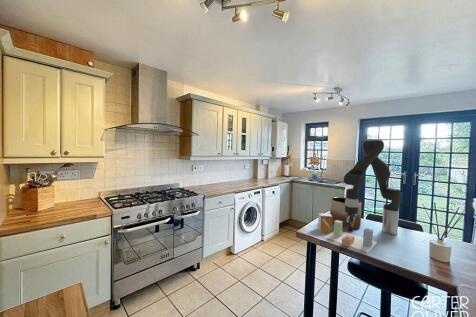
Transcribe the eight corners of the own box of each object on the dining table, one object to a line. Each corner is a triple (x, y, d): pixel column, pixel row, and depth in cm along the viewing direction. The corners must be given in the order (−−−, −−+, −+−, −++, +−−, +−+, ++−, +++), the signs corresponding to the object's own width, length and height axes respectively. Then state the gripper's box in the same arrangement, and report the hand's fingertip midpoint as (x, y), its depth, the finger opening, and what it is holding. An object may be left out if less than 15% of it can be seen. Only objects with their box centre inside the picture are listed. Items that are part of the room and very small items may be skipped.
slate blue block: (364, 243, 130) (365, 227, 129) (372, 245, 127) (373, 229, 126) (362, 244, 127) (363, 229, 126) (370, 247, 124) (371, 231, 124)
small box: (320, 233, 146) (321, 215, 145) (317, 229, 152) (318, 212, 152) (331, 234, 145) (332, 216, 145) (328, 230, 152) (329, 213, 151)
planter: (367, 228, 157) (368, 203, 156) (343, 231, 151) (345, 204, 150) (345, 218, 178) (346, 196, 177) (324, 220, 173) (325, 197, 172)
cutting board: (336, 231, 151) (336, 229, 150) (377, 243, 132) (377, 242, 131) (324, 238, 137) (324, 237, 137) (368, 254, 118) (368, 252, 118)
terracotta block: (347, 234, 133) (342, 238, 127) (354, 236, 130) (348, 240, 124) (347, 239, 134) (341, 244, 127) (354, 242, 131) (348, 247, 124)
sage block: (335, 233, 143) (336, 220, 142) (341, 235, 140) (342, 221, 139) (333, 235, 140) (334, 221, 140) (339, 237, 137) (340, 222, 137)
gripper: (349, 202, 137) (347, 227, 138) (341, 205, 128) (340, 232, 129) (361, 204, 131) (360, 230, 132) (354, 208, 122) (353, 236, 123)
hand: (350, 231), depth 130 cm, fingers closed
